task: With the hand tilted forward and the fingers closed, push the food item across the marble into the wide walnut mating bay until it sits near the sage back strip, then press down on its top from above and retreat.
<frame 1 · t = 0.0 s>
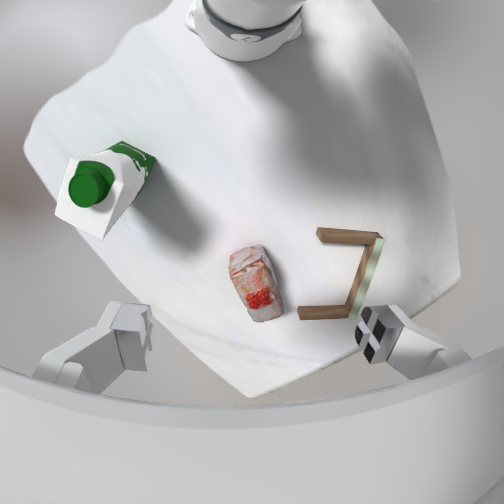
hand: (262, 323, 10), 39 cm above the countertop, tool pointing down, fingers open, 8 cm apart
milk carton: (129, 167, 43), on the countertop
bay: (336, 273, 58), on the countertop
food item: (254, 271, 56), on the countertop
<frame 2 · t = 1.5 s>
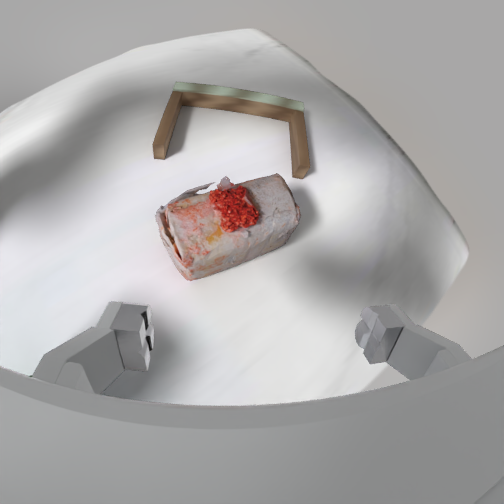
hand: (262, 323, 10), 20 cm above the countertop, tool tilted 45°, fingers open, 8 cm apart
bay: (233, 132, 39), on the countertop
food item: (222, 242, 33), on the countertop
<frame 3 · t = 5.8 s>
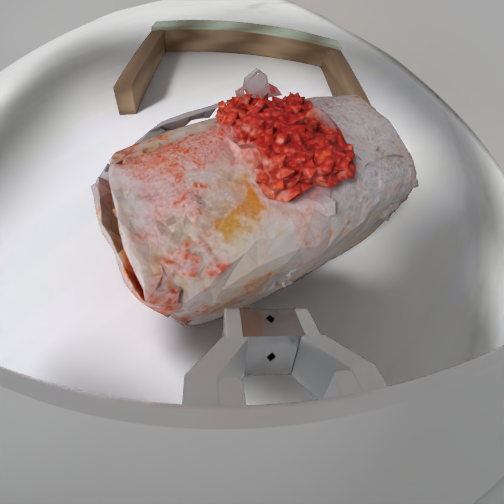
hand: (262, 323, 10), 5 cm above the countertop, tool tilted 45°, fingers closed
bay: (244, 74, 23), on the countertop
food item: (248, 239, 17), on the countertop, touching gripper
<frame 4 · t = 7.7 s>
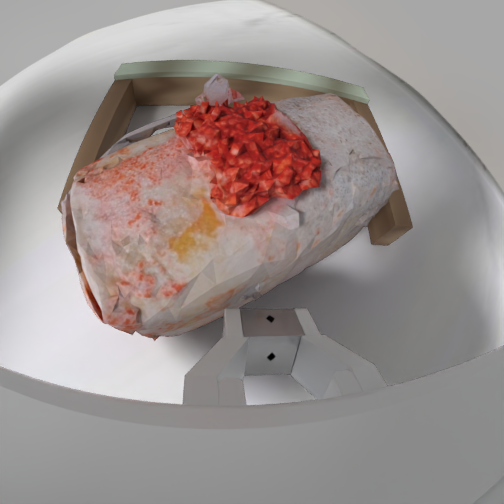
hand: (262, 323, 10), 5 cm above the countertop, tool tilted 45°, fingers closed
bay: (240, 149, 19), on the countertop
food item: (225, 247, 16), on the countertop, touching gripper
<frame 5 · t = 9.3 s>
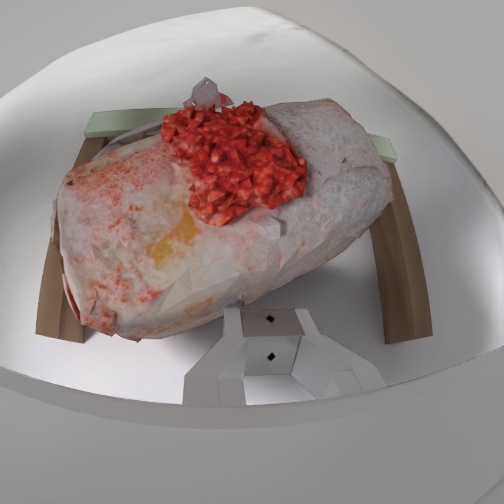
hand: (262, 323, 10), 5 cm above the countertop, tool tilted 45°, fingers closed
bay: (242, 234, 16), on the countertop
food item: (217, 252, 16), on the countertop, touching gripper
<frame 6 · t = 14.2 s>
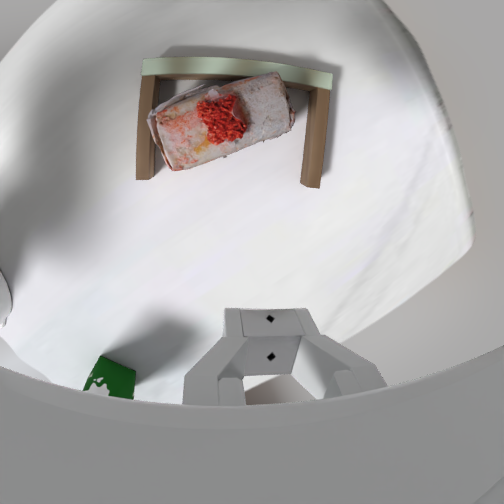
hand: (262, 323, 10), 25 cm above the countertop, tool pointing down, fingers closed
milk carton: (114, 373, 43), on the countertop
bay: (232, 120, 30), on the countertop
food item: (220, 121, 30), on the countertop
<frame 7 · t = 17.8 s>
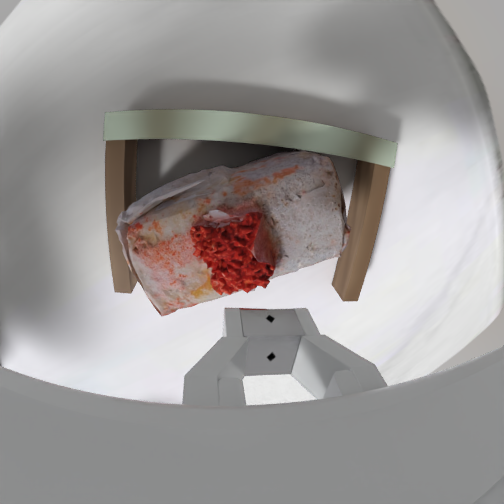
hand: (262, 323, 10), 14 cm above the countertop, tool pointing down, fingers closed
bay: (245, 205, 22), on the countertop
food item: (230, 205, 22), on the countertop
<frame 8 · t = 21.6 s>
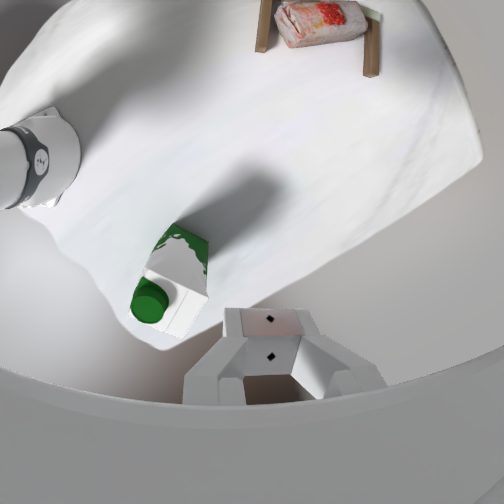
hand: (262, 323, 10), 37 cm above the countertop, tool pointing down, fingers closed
milk carton: (182, 248, 48), on the countertop
bay: (318, 30, 34), on the countertop
food item: (312, 30, 35), on the countertop
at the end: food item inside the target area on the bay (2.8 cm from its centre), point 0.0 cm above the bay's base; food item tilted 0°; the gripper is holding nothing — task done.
